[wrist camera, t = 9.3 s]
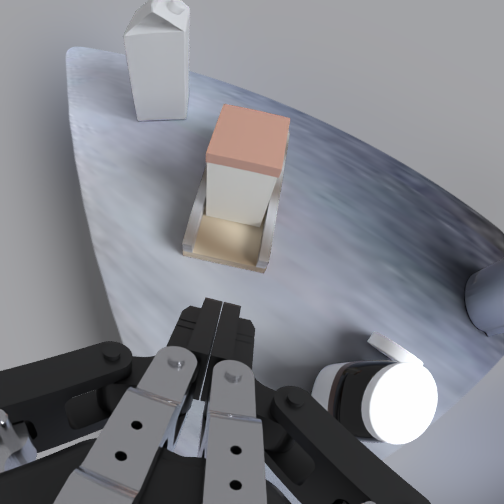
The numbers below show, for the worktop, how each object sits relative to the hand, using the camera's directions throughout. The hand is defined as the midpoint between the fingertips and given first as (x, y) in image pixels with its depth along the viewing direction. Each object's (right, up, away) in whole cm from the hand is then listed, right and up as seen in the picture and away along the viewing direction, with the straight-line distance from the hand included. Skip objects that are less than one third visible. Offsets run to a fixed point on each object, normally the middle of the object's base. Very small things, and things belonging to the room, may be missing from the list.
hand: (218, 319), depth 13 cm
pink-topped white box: (0, +9, +23) cm, 25 cm away
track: (0, +9, +25) cm, 26 cm away
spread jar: (+13, -12, +19) cm, 26 cm away
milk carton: (-12, +24, +30) cm, 40 cm away
